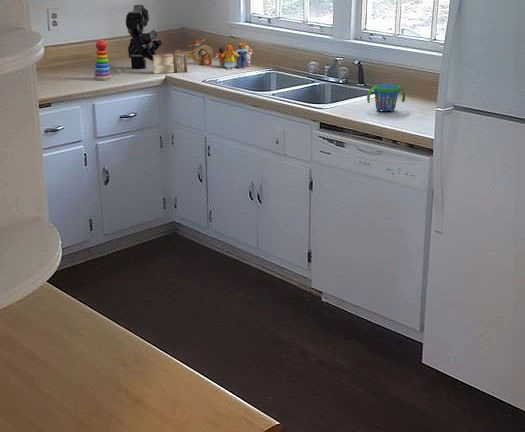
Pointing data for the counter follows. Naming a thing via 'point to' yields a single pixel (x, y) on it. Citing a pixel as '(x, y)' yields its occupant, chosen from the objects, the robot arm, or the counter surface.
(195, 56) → the toy helicopter
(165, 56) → the fence gate
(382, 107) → the snack cup
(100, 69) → the stacking toy
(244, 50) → the doll family
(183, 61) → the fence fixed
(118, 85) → the counter surface
